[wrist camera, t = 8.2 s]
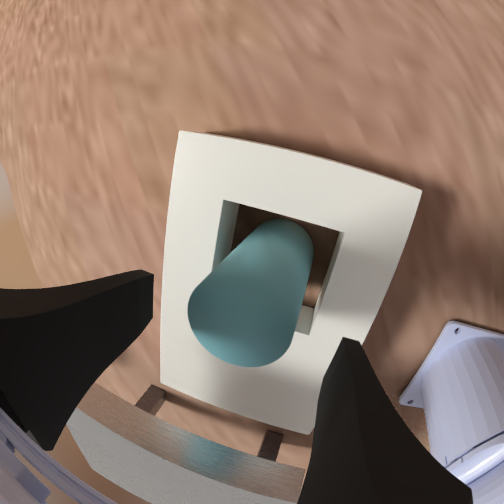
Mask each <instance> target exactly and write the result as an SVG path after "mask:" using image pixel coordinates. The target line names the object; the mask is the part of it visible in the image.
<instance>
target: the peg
mask: <svg viewBox="0 0 504 504" xmlns="http://www.w3.org/2000/svg"><path fill="white" fill-rule="evenodd" d="M313 258H314V247H313V243H312V240H311V238H310V236H309V234H308V233H307V232H306V231H305V229H304V228H302V227H301V226H300V225H298V224H297V223H295V222H293V221H290V220H287V219H271V220H268V221H265V222H263V223H262V224H260V225H259V226H258V227H257V228H256V229H255V230H254V231H253V232H252V233H250V234H249V235H248V236H247V237H246V238H245V239H244V240H243V241H242V242H241V243H240V244H239V245H238V246H237V247H236V248H235V249H234V250H233V251H232V252H231V253H230V254H229V255H228V256H227V257H226V258H225V259H224V260H223V261H222V262H221V263H220V264H219V265H218V266H217V267H216V268H215V269H214V270H213V271H212V272H211V273H210V274H209V275H208V276H207V277H206V278H205V279H204V280H203V281H202V282H201V283H200V284H199V285H198V286H197V287H196V288H195V289H194V291H193V292H192V294H191V296H190V299H189V302H188V309H187V314H188V320H189V324H190V327H191V329H192V331H193V333H194V335H195V337H196V338H197V340H198V341H199V342H200V343H201V345H202V346H203V347H204V348H205V349H206V350H207V351H209V352H210V353H211V354H213V355H214V356H216V357H217V358H219V359H221V360H223V361H225V362H227V363H230V364H233V365H236V366H242V367H260V366H265V365H268V364H270V363H273V362H275V361H276V360H278V359H279V358H281V357H282V356H283V355H284V354H285V353H286V351H287V350H288V348H289V347H290V344H291V342H292V339H293V335H294V332H295V328H296V324H297V321H298V317H299V313H300V310H301V306H302V302H303V298H304V294H305V291H306V287H307V283H308V279H309V275H310V270H311V266H312V262H313Z"/></svg>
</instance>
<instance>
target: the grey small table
mask: <svg viewBox="0 0 504 504" xmlns="http://www.w3.org/2000/svg"><path fill="white" fill-rule="evenodd" d="M164 402H165V391H163V390H161V389H159V388H157V387H155V386H153V385H151V386H150V387H149V388H148V389H147V391H146V392H145V393H144V395H143V396H142V397H141V398H140V400H139V401H138V402H137V403H136V405H135V406H134V405H132V404H130V403H129V402H127V401H125V400H123V399H121V398H120V397H118V396H116V395H114V394H113V393H111V392H109V391H108V390H106V389H104V388H103V387H101V386H100V385H98V384H96V383H95V382H94V383H93V385H92V386H91V387H90V389H89V390H88V391H87V393H86V394H85V395H84V397H83V398H82V400H81V401H80V403H79V404H78V406H77V407H76V409H75V410H74V412H73V413H72V415H71V417H70V418H69V420H68V422H67V423H66V424H67V426H68V428H69V430H70V432H71V434H72V436H73V437H74V439H75V441H76V443H77V445H78V446H79V448H80V450H81V452H82V453H83V455H84V457H85V458H86V460H87V462H88V463H89V465H90V466H91V468H92V469H93V470H94V471H96V472H97V473H99V474H101V475H102V476H104V477H105V478H107V479H109V480H110V481H112V482H113V483H115V484H117V485H118V486H120V487H122V488H124V489H125V490H127V491H129V492H131V493H132V494H134V495H136V496H138V497H140V498H142V499H144V500H146V501H148V502H150V503H152V504H297V502H298V499H299V495H300V491H301V486H302V482H303V478H304V473H305V469H302V468H298V467H294V466H290V465H286V464H282V463H278V462H276V458H277V455H278V452H279V448H280V445H281V441H282V438H283V435H282V434H279V433H275V432H272V431H268V430H267V431H266V433H265V435H264V437H263V440H262V443H261V446H260V449H259V451H258V454H257V456H253V455H250V454H247V453H244V452H241V451H238V450H235V449H232V448H229V447H226V446H223V445H221V444H218V443H215V442H213V441H210V440H207V439H205V438H202V437H200V436H197V435H195V434H193V433H190V432H188V431H186V430H183V429H181V428H179V427H177V426H174V425H172V424H170V423H168V422H166V421H164V420H162V419H159V418H157V417H155V414H156V413H157V412H158V410H159V409H160V407H161V406H162V405H163V403H164Z"/></svg>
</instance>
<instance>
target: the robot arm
mask: <svg viewBox="0 0 504 504" xmlns="http://www.w3.org/2000/svg"><path fill="white" fill-rule="evenodd" d="M153 283H154V274H151V273H149V272H146V271H144V270H134V271H129V272H125V273H120V274H116V275H112V276H108V277H104V278H99V279H95V280H91V281H86V282H81V283H76V284H72V285H66V286H60V287H52V288H42V289H1V288H0V504H48V503H47V502H45V500H46V498H47V497H48V496H49V495H50V493H51V491H50V490H49V489H48V488H47V487H46V486H45V485H44V484H43V483H42V482H40V481H39V480H38V479H37V478H36V477H35V476H34V475H33V474H32V473H31V472H30V471H29V469H28V468H27V467H26V466H25V465H24V464H23V463H22V462H21V461H20V460H19V459H18V458H17V457H16V456H15V455H14V452H15V450H14V448H15V449H16V450H17V451H18V452H19V453H20V454H21V455H22V456H23V457H24V458H25V459H26V460H27V461H28V462H30V464H32V465H33V466H34V467H35V468H36V469H37V470H38V471H39V472H40V473H42V474H43V475H44V476H45V477H46V478H47V479H48V480H50V481H51V482H52V483H53V484H54V485H56V486H57V487H58V488H59V489H61V490H62V491H63V492H65V493H66V494H67V495H68V496H70V497H71V498H72V499H74V500H75V501H77V502H78V503H79V504H117V503H115V502H114V501H112V500H111V499H109V498H107V497H106V496H104V495H102V494H101V493H99V492H98V491H96V490H95V489H93V488H92V487H90V486H89V485H87V484H86V483H85V482H83V481H82V480H80V479H79V478H77V477H76V476H75V475H74V474H72V473H71V472H70V471H68V470H67V469H66V468H64V467H63V466H62V465H61V464H59V463H58V462H57V461H56V460H54V459H53V458H52V457H51V456H50V455H48V454H47V453H46V452H45V451H51V450H53V448H54V446H55V444H56V442H57V440H58V438H59V436H60V434H61V432H62V430H63V428H64V427H65V425H66V423H67V422H68V420H69V418H70V417H71V415H72V413H73V412H74V410H75V409H76V407H77V406H78V404H79V403H80V401H81V400H82V398H83V397H84V395H85V394H86V393H87V391H88V390H89V389H90V387H91V386H92V385H93V383H94V382H95V381H96V380H97V378H98V377H99V376H100V375H101V374H102V373H103V371H104V370H105V369H106V368H107V367H108V366H109V365H110V364H111V363H112V362H113V361H114V360H115V359H116V358H117V357H118V356H119V355H120V354H121V353H122V352H124V351H125V350H126V349H127V348H128V347H129V346H130V345H131V344H132V343H133V342H134V341H135V340H136V338H137V337H138V336H139V335H140V334H141V333H142V331H143V330H144V329H145V328H146V326H147V325H148V323H149V322H150V321H151V319H152V318H153ZM457 328H459V329H458V330H457V331H455V330H456V329H457ZM409 400H410V401H409ZM399 403H400V404H401V405H406V406H412V407H418V408H424V413H425V418H426V424H427V431H428V437H429V444H430V452H431V454H430V453H429V452H428V451H427V450H426V448H425V447H424V446H423V445H422V444H421V443H420V442H419V440H418V439H417V438H416V437H415V436H414V434H413V433H412V432H411V431H410V429H409V428H408V427H407V425H406V424H405V422H404V421H403V420H402V418H401V417H400V415H399V414H398V413H397V411H396V410H395V408H394V406H393V405H392V403H391V401H390V400H389V398H388V396H387V395H386V393H385V391H384V389H383V388H382V386H381V384H380V382H379V380H378V378H377V376H376V374H375V372H374V370H373V368H372V366H371V364H370V362H369V360H368V358H367V356H366V354H365V352H364V350H363V348H362V346H361V344H360V342H359V341H357V340H353V339H350V338H346V337H342V340H341V342H340V344H339V346H338V348H337V350H336V352H335V355H334V357H333V359H332V361H331V363H330V365H329V367H328V369H327V371H326V373H325V375H324V377H323V380H322V385H321V389H320V393H319V398H318V403H317V412H316V421H315V429H314V437H313V445H312V452H311V457H310V462H309V466H308V470H307V473H306V477H305V480H304V484H303V487H302V490H301V493H300V496H299V499H298V502H297V504H504V334H500V333H497V332H493V331H490V330H486V329H482V328H479V327H475V326H472V325H468V324H464V323H461V322H457V321H449V322H448V323H447V324H446V325H445V327H444V329H443V330H442V332H441V334H440V336H439V337H438V339H437V341H436V343H435V344H434V346H433V348H432V349H431V351H430V353H429V354H428V356H427V357H426V359H425V361H424V362H423V364H422V365H421V367H420V368H419V370H418V371H417V373H416V374H415V376H414V377H413V379H412V380H411V382H410V383H409V385H408V386H407V387H406V389H405V390H404V392H403V393H402V394H401V396H400V397H399ZM18 426H19V427H20V428H21V429H20V428H19V427H18ZM23 431H24V432H25V433H26V434H27V435H28V436H29V437H28V436H27V435H26V434H25V433H24V432H23ZM39 446H40V447H41V448H40V447H39ZM44 450H45V451H44Z"/></svg>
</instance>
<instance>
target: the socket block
mask: <svg viewBox="0 0 504 504" xmlns="http://www.w3.org/2000/svg"><path fill="white" fill-rule="evenodd" d="M421 194H422V190H420V189H418V188H416V187H414V186H412V185H410V184H408V183H405V182H402V181H399V180H396V179H393V178H390V177H387V176H384V175H381V174H378V173H375V172H372V171H369V170H366V169H362V168H359V167H356V166H353V165H349V164H346V163H342V162H339V161H335V160H332V159H328V158H324V157H320V156H317V155H313V154H309V153H305V152H301V151H297V150H292V149H288V148H284V147H279V146H275V145H270V144H265V143H260V142H256V141H250V140H245V139H240V138H234V137H229V136H223V135H217V134H211V133H204V132H192V131H179V136H178V142H177V148H176V154H175V161H174V168H173V175H172V183H171V191H170V199H169V208H168V217H167V227H166V238H165V250H164V263H163V279H162V298H161V330H160V381H161V383H162V384H164V385H167V386H169V387H171V388H173V389H175V390H178V391H180V392H182V393H185V394H187V395H189V396H192V397H194V398H196V399H199V400H201V401H204V402H206V403H209V404H211V405H214V406H217V407H219V408H222V409H225V410H227V411H230V412H233V413H236V414H239V415H242V416H245V417H248V418H251V419H254V420H257V421H260V422H263V423H266V424H270V425H273V426H277V427H280V428H284V429H287V430H291V431H295V432H299V433H303V434H307V435H309V434H310V433H311V431H312V430H313V428H314V427H315V421H316V412H317V403H318V398H319V393H320V389H321V385H322V380H323V377H324V375H325V373H326V371H327V369H328V367H329V365H330V363H331V361H332V359H333V357H334V355H335V352H336V350H337V348H338V346H339V344H340V342H341V340H342V337H346V338H350V339H353V340H357V341H359V342H360V344H361V346H362V344H363V342H364V340H365V338H366V336H367V334H368V332H369V330H370V328H371V325H372V323H373V321H374V319H375V317H376V315H377V313H378V310H379V308H380V306H381V304H382V301H383V299H384V297H385V295H386V292H387V290H388V287H389V285H390V283H391V280H392V278H393V275H394V273H395V270H396V268H397V265H398V263H399V260H400V257H401V255H402V252H403V249H404V246H405V244H406V241H407V238H408V235H409V232H410V229H411V226H412V223H413V220H414V217H415V214H416V211H417V207H418V204H419V201H420V197H421ZM239 204H243V205H247V206H251V207H255V208H258V209H262V210H266V211H270V212H273V213H277V214H281V215H284V216H288V217H292V218H295V219H299V220H302V221H306V222H309V223H313V224H316V225H320V226H323V227H327V228H330V229H334V230H337V231H340V232H339V235H338V238H337V242H336V245H335V248H334V251H333V254H332V258H331V261H330V264H329V267H328V270H327V273H326V276H325V279H324V282H323V285H322V288H321V291H320V294H319V297H318V299H317V302H316V305H315V308H311V307H308V306H304V305H302V306H301V310H300V313H299V317H298V321H297V324H296V328H295V332H294V335H293V339H292V342H291V344H290V347H289V348H288V350H287V351H286V353H285V354H284V355H283V356H282V357H281V358H279V359H278V360H276V361H275V362H273V363H270V364H268V365H265V366H260V367H242V366H236V365H233V364H230V363H227V362H225V361H223V360H221V359H219V358H217V357H216V356H214V355H213V354H211V353H210V352H209V351H207V350H206V349H205V348H204V347H203V346H202V345H201V343H200V342H199V341H198V340H197V338H196V337H195V335H194V333H193V331H192V329H191V327H190V324H189V320H188V314H187V309H188V302H189V299H190V296H191V294H192V292H193V291H194V289H195V288H196V287H197V286H198V285H199V284H200V283H201V282H202V281H203V280H204V279H205V278H206V277H207V276H208V275H209V274H210V273H211V272H212V271H213V270H214V269H215V268H216V267H217V266H218V265H219V264H220V263H221V262H222V261H223V260H224V259H225V258H226V257H227V256H228V255H229V254H230V252H231V247H232V241H233V236H234V231H235V225H236V220H237V215H238V209H239Z"/></svg>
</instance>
